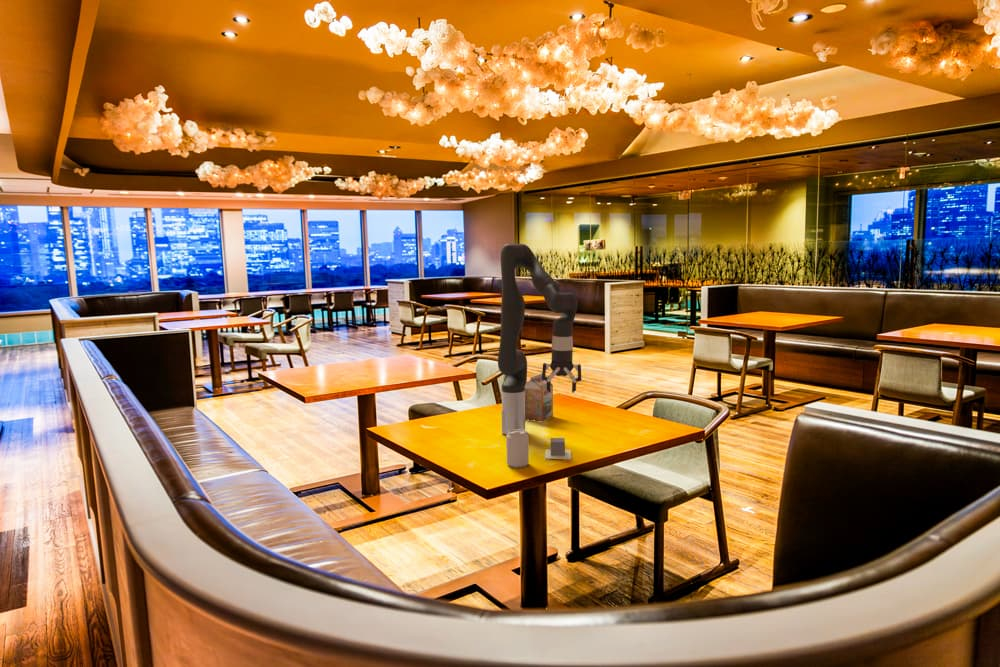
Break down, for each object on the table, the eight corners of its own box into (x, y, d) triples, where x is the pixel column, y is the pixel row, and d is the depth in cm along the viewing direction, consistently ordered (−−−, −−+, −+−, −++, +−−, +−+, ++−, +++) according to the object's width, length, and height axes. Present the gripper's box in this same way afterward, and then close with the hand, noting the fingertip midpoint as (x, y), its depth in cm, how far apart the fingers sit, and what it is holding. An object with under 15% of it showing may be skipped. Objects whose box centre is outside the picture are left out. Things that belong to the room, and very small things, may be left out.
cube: (550, 455, 228) (550, 442, 227) (550, 451, 232) (550, 437, 232) (564, 455, 227) (564, 442, 227) (564, 451, 232) (564, 437, 231)
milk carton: (541, 422, 275) (541, 378, 272) (520, 418, 280) (519, 376, 278) (553, 416, 284) (552, 374, 281) (532, 413, 289) (531, 371, 287)
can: (503, 467, 219) (503, 432, 217) (511, 460, 226) (510, 427, 224) (524, 469, 216) (524, 434, 215) (531, 462, 223) (531, 428, 222)
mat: (545, 459, 226) (545, 457, 226) (545, 451, 235) (545, 449, 235) (571, 459, 225) (571, 457, 225) (570, 451, 234) (570, 449, 234)
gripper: (542, 349, 229) (541, 393, 231) (582, 350, 228) (581, 395, 230) (542, 345, 236) (541, 389, 239) (581, 346, 235) (580, 390, 238)
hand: (561, 391), depth 234 cm, fingers open, 8 cm apart
